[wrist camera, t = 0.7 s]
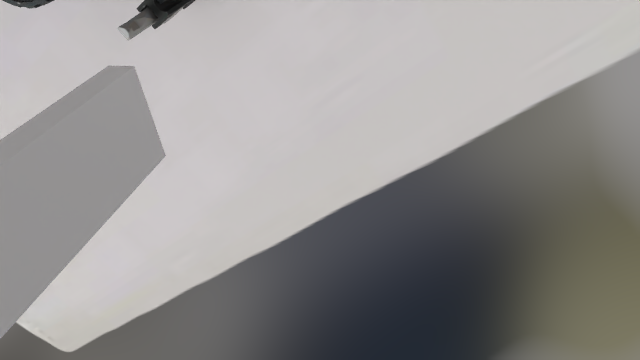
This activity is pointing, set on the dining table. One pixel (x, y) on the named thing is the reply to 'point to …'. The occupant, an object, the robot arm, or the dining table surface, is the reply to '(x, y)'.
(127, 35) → the scope
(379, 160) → the dining table surface
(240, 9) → the dining table surface
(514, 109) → the dining table surface
